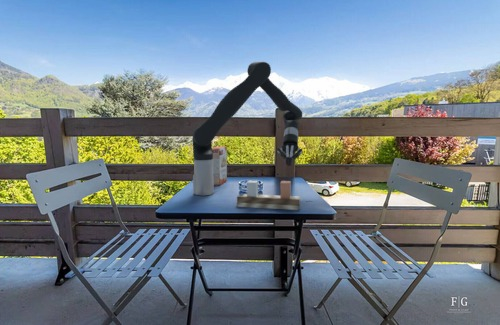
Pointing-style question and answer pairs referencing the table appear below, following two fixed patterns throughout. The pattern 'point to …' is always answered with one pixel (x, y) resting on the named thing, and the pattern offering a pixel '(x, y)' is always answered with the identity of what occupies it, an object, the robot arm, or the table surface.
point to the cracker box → (219, 165)
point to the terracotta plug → (285, 189)
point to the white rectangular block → (252, 188)
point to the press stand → (269, 202)
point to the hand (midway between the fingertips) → (288, 165)
